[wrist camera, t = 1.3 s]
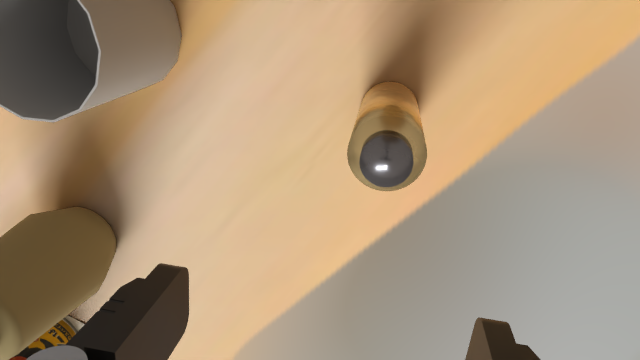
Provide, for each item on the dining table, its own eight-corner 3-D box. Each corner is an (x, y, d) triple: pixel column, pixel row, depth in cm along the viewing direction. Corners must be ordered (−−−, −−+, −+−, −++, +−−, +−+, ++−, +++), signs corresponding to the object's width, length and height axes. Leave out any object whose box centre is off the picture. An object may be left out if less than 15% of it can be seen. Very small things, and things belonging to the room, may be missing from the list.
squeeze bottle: (98, 291, 43) (-88, 477, 27) (26, 232, 42) (-215, 388, 25) (147, 240, 40) (-25, 412, 24) (72, 175, 39) (-166, 309, 22)
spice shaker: (357, 85, 33) (339, 127, 23) (415, 77, 32) (425, 117, 22) (364, 140, 34) (350, 203, 24) (420, 134, 33) (431, 196, 23)
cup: (76, -50, 32) (-50, -67, 23) (189, -14, 32) (107, -16, 23) (67, 69, 36) (-46, 96, 26) (170, 103, 35) (91, 142, 26)
